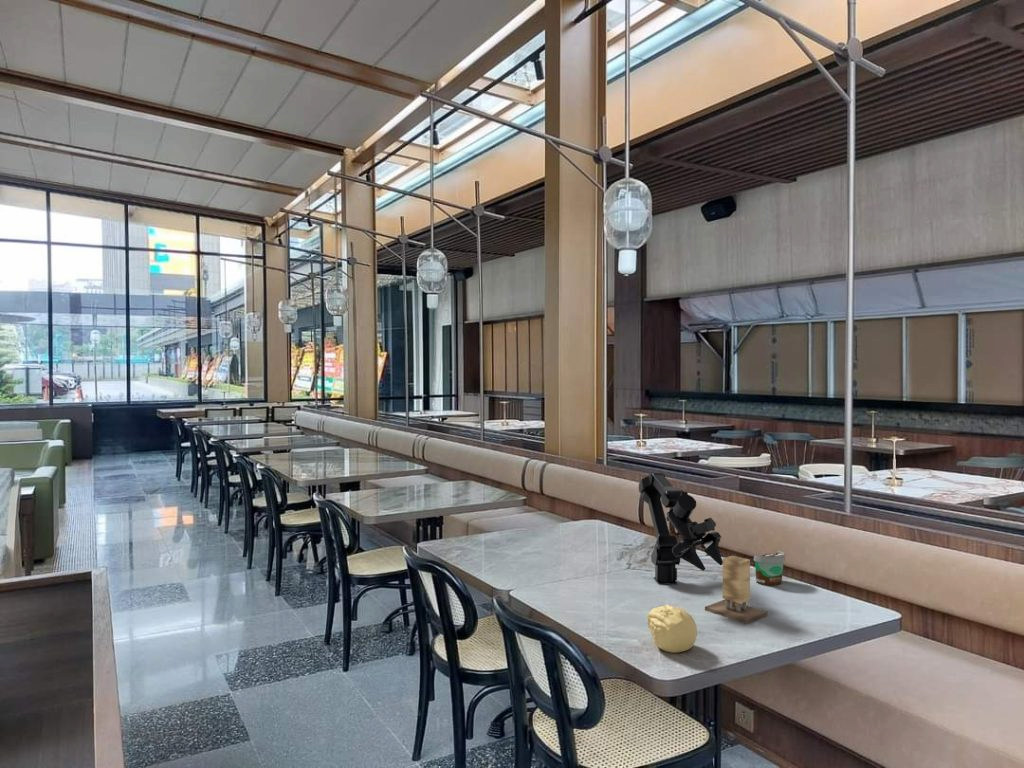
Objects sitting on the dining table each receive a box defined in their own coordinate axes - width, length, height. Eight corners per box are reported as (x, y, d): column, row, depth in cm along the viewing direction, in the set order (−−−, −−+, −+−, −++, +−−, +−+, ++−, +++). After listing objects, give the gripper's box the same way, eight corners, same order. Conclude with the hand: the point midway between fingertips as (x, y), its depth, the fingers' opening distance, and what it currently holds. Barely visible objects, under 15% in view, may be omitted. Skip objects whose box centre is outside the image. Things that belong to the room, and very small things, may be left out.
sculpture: (640, 643, 175) (640, 602, 174) (676, 635, 180) (677, 596, 180) (668, 660, 164) (668, 617, 164) (705, 651, 169) (706, 610, 169)
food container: (767, 589, 218) (768, 559, 218) (753, 583, 224) (753, 554, 224) (793, 583, 224) (793, 554, 224) (778, 578, 230) (778, 550, 229)
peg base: (704, 610, 199) (704, 596, 199) (726, 602, 206) (726, 589, 206) (746, 623, 188) (746, 609, 188) (767, 615, 195) (767, 601, 195)
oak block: (722, 598, 198) (722, 558, 198) (732, 594, 201) (732, 555, 201) (740, 603, 193) (740, 562, 193) (749, 600, 196) (750, 559, 196)
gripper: (680, 514, 201) (711, 558, 193) (716, 506, 213) (747, 547, 204) (659, 534, 207) (688, 578, 199) (695, 526, 219) (724, 567, 211)
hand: (713, 567), depth 203 cm, fingers open, 9 cm apart
